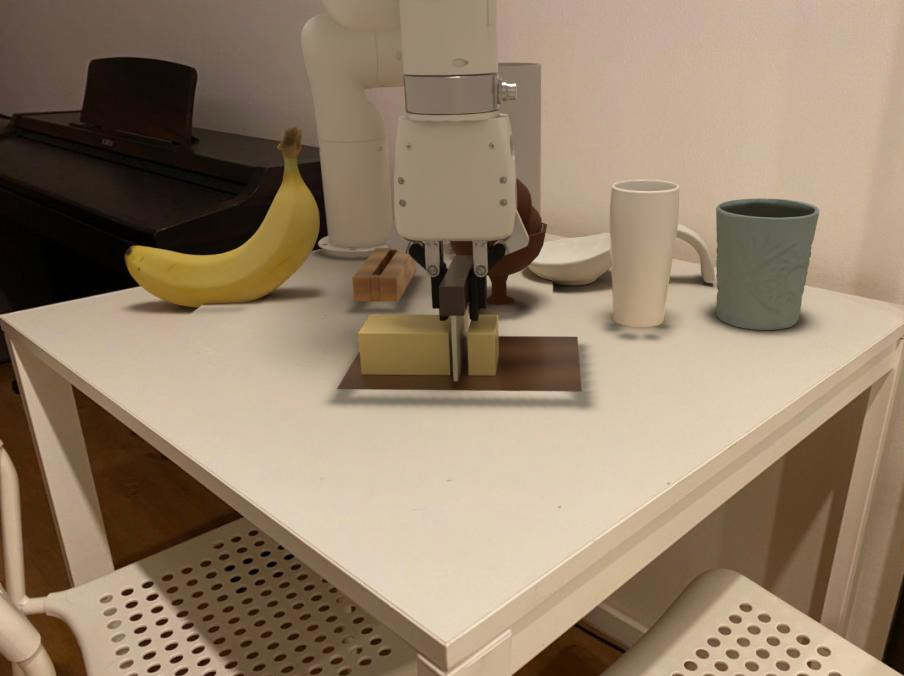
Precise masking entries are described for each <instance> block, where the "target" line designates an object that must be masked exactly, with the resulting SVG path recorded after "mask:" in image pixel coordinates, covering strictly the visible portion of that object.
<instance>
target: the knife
mask: <svg viewBox="0 0 904 676" xmlns="http://www.w3.org/2000/svg"><path fill="white" fill-rule="evenodd" d="M472 265H473V255H456V254H454V256H453V258H452V260H451V262H450V264H449V266H448V267H447V268H448V270H447V272H446V274H445V276H444V278H443V280H442V282H441V284H440V286H439V297H440V316H451V333H452V359H453V381H454V382H458V379H459V376H460V373H461V369H462V366H463V362H464V359H465V356H466V352H467V349H468V346H467V333H468V329H469V326H470V318H469V277H470V274H471V268H472Z"/></svg>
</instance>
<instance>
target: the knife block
mask: <svg viewBox="0 0 904 676" xmlns="http://www.w3.org/2000/svg"><path fill="white" fill-rule="evenodd" d="M416 267H417V266H416V261H415V260H414V259H413V258H412V257H411V256H410V255H408V254H404V253H402V252H399V251H397V250H395V249H392V248H375V250H374V251H371V253H370V254H369V256H368V257H367V259H366V260H365V261H364V262H363V263H362V264H361V266H360V267H359V269H358V270H357V271H356V272H355V273H354V275H353V276H352V277H351V278H352V290H353V299H354V300H353V301H354V302H399V300H400V299H401V298H402V297H403V295H404V293H406V290H407V288H408V286H409V285H410V283H411V281H412V279H413V277H414V276H415V274H416V272H417V268H416Z"/></svg>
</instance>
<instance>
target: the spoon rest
mask: <svg viewBox="0 0 904 676" xmlns="http://www.w3.org/2000/svg"><path fill="white" fill-rule="evenodd" d="M676 238H678V239H680V240H682V241H684V242H686V243H687V244H689V245H690V246H691V247H693V249H694V250H695V251H696V253H697V254H698V257H699V261H700V275H701V278H702V280H703V281H704V282H705V283H706V284H707V283H708V284H712V283H714V281H715V266H714V261H713V257H712V255H711V253H710V251H709V249H708V247H707V244H706V243H705V241H704V240H703V238H702V237H701V236H700V235H699V234H698V233H697V232H695V231H694V230H692V229H691V228H689V227H687V226H685V225H682V224H680V223H678V227H677V235H676ZM527 267H528V269H529V270H530V271H531V272H532V273H533V274H535V275H536V276H537V277H540V278H541V279H545V280H549V281H552V283H553V284H556V285H561V286H583V285H589V284H592V283H594V282H596V281H597V280H598V279H599V277H601V276H602V275H604V274H605V273H606V272H607V271H608V270H610V269H611V252H610V231H608V232H603V233H597V234H591V235H585V236H577V237H567V238H561V239H560V238H559V239H553V240H548V241H544V244H543V247H542V249H541V251H540V253H539V255H538V257H537V258H536V259H535V260H534V261H533V262H532V263H531V264H530V265H529V266H527Z"/></svg>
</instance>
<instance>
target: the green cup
mask: <svg viewBox="0 0 904 676" xmlns="http://www.w3.org/2000/svg"><path fill="white" fill-rule="evenodd" d="M819 215H820V209H819V208H818V207H817V206H816V205H814V204H811V203H808V202H805V201H799V200H792V199H783V198H741V199H734V200H727V201H723V202H721V203H719V204H717V206H716V208H715V218H716V220H715V221H716V222H715V224H716V228H715V229H716V230H715V231H716V260H715V263H716V264H715V265H716V290H717V294H716V316H717V318H718V319H719V320H720V321H722V322H723V323H725V324H728V325H730V326H734V327H736V328H740V329H741V328H742V329H746V330H752V331H753V330H754V331H776V330H777V331H778V330H785V329H790V328H791V327H793V326H795V325H796V324H797V323H798V320H799V318H800V314H801V308H802V301H803V295H804V292H805V287H806V283H807V276H808V273H809V272H808V271H809V266H810V258H811V257H812V246H813V243H814V240H815V236H816V235H815V234H816V231H817V225H818V220H819Z"/></svg>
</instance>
